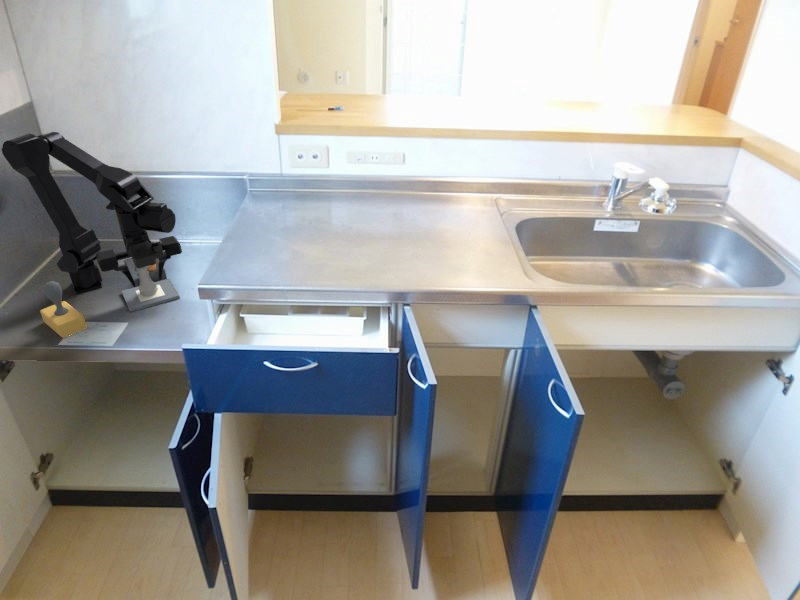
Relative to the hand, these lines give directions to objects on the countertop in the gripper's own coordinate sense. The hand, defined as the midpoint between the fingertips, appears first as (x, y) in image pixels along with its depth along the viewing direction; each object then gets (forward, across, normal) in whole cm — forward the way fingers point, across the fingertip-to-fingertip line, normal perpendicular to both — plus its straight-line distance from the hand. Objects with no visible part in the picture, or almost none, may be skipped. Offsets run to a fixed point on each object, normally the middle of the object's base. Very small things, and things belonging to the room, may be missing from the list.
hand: (147, 282), depth 143 cm
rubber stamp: (+4, -20, -3) cm, 21 cm away
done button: (+2, +3, +9) cm, 10 cm away
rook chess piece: (+3, 0, 0) cm, 3 cm away
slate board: (+4, 0, 0) cm, 4 cm away
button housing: (+4, +3, +9) cm, 10 cm away
